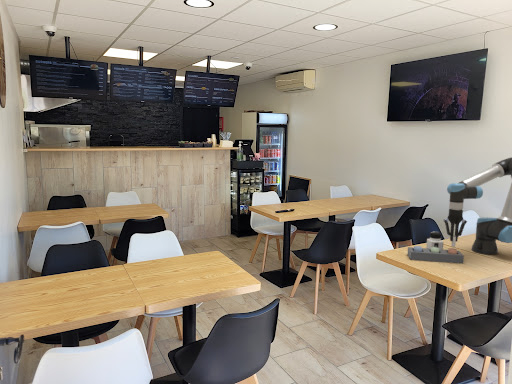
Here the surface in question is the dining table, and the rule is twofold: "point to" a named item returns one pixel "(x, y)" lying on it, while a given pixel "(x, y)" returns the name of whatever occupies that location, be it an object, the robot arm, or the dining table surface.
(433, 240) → the container
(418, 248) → the slate button
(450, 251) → the terracotta button
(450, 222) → the robot arm
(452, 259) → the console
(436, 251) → the sage button
